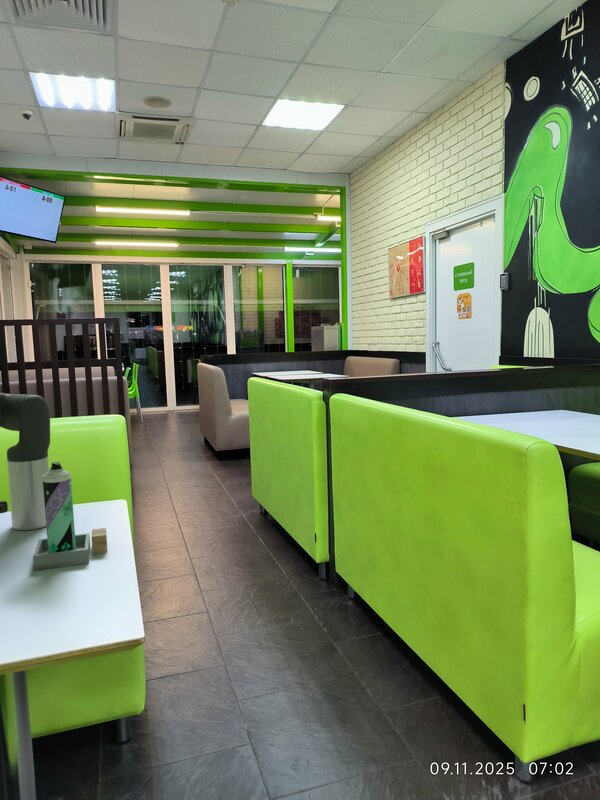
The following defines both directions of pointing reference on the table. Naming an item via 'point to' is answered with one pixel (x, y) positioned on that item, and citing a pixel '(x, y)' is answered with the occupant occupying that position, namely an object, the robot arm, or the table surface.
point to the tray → (62, 554)
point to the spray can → (59, 509)
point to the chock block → (99, 540)
